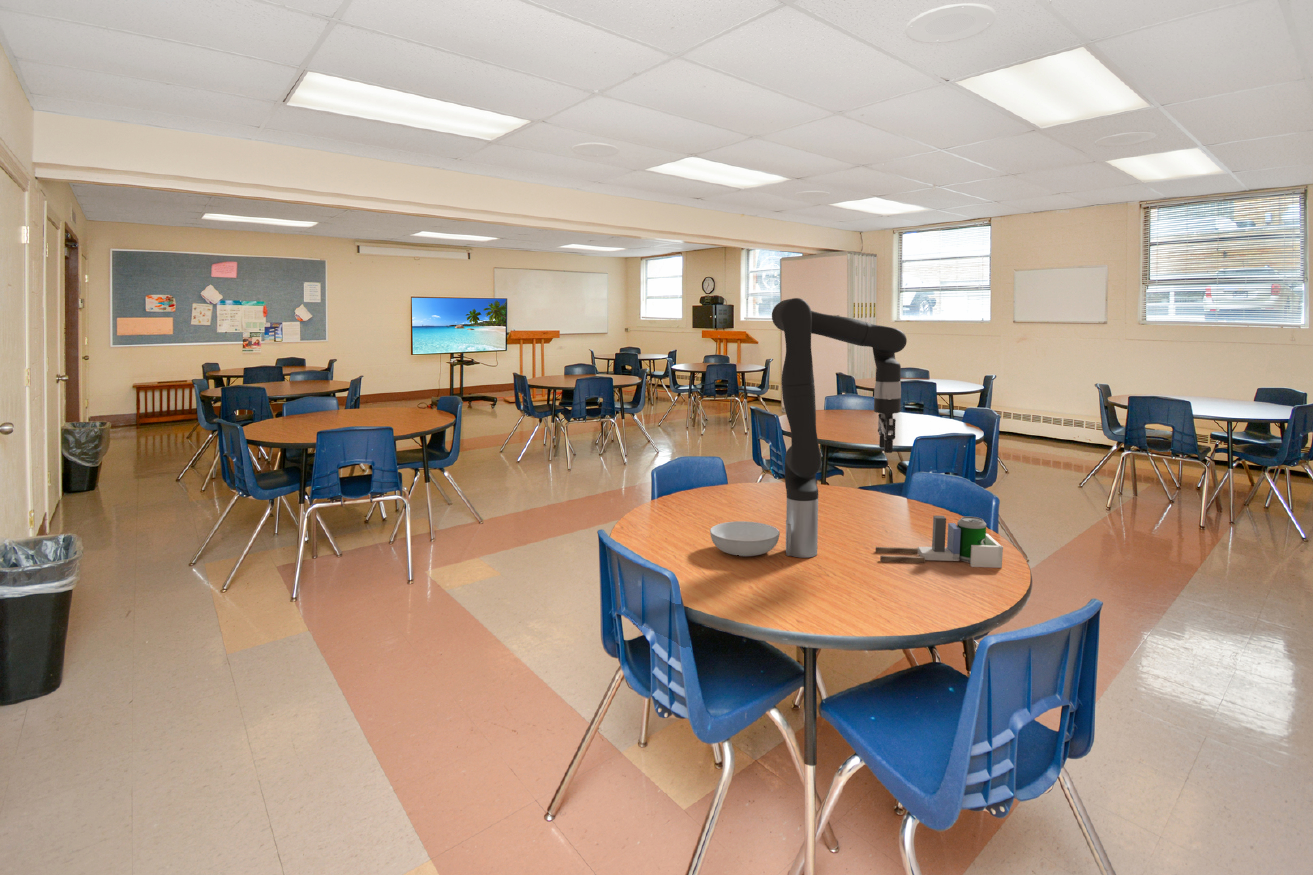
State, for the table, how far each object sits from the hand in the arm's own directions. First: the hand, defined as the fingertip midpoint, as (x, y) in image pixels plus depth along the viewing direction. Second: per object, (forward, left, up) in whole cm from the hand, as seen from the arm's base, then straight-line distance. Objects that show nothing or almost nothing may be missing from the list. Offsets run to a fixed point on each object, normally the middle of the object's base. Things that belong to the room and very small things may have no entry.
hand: (885, 450), depth 201 cm
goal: (+25, -10, -30) cm, 40 cm away
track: (+3, -10, -30) cm, 32 cm away
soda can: (+23, -10, -30) cm, 39 cm away
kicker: (+14, -10, -30) cm, 35 cm away
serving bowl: (-42, -9, -30) cm, 53 cm away
